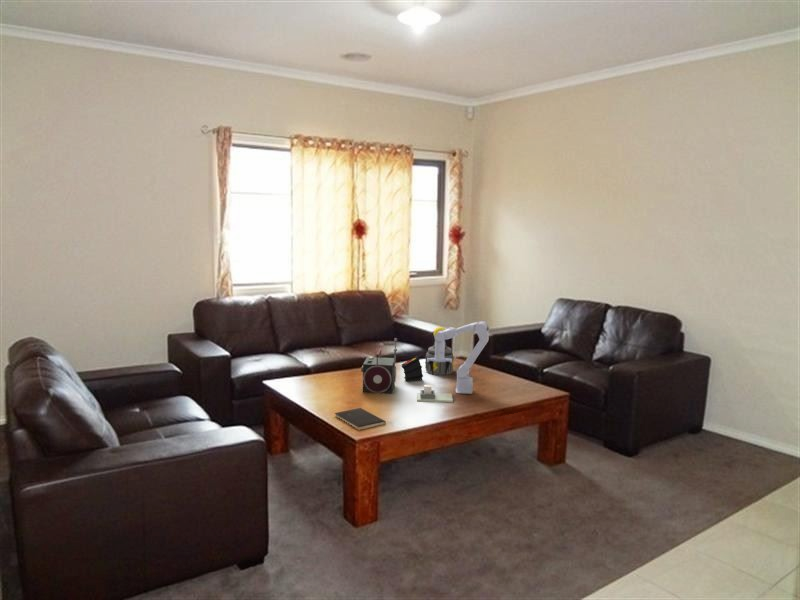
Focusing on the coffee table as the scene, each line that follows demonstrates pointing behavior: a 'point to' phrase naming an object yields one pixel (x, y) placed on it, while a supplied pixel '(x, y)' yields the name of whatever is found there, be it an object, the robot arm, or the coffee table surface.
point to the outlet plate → (434, 397)
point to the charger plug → (427, 389)
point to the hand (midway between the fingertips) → (439, 373)
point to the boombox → (379, 374)
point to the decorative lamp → (439, 366)
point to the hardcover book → (360, 418)
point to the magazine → (412, 370)
